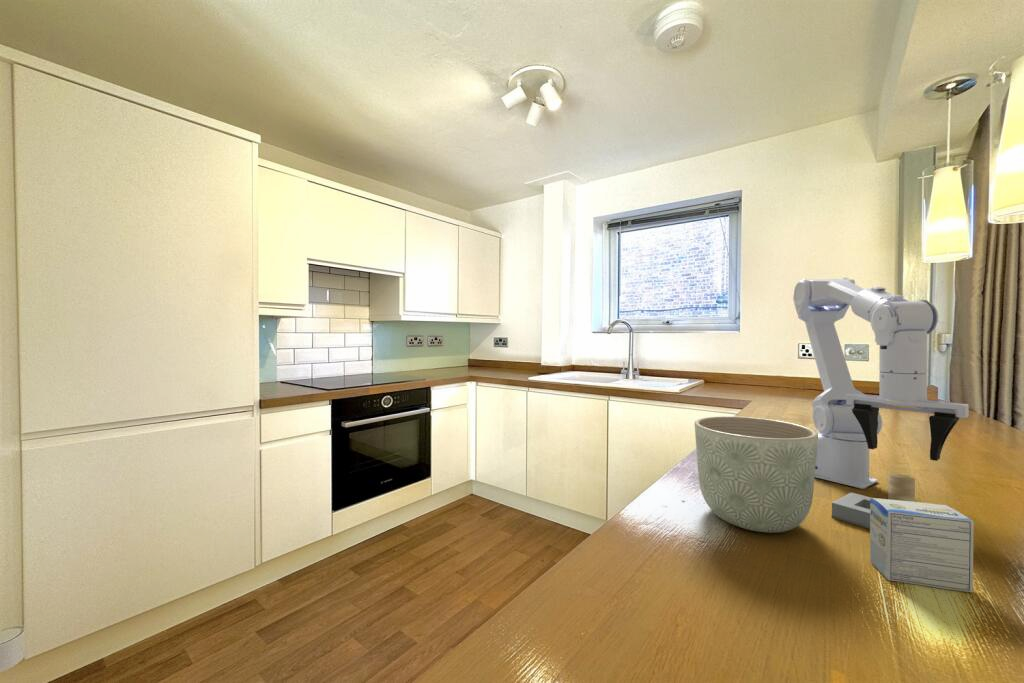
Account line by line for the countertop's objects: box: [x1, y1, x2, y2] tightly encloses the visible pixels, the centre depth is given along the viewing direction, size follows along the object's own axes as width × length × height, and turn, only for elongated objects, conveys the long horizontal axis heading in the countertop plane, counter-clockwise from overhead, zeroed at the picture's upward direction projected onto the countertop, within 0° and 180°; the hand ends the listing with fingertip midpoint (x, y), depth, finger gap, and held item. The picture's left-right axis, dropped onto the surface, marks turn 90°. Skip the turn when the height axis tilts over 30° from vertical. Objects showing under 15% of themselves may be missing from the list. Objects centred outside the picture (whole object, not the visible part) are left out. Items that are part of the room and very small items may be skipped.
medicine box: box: [869, 497, 975, 593], centre depth 49 cm, size 8×4×9 cm, turn 71°
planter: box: [694, 415, 819, 534], centre depth 64 cm, size 17×17×15 cm
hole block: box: [831, 492, 873, 530], centre depth 64 cm, size 9×8×2 cm
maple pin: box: [887, 473, 916, 502], centre depth 67 cm, size 3×3×6 cm
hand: (902, 453), depth 67 cm, fingers open, 7 cm apart
